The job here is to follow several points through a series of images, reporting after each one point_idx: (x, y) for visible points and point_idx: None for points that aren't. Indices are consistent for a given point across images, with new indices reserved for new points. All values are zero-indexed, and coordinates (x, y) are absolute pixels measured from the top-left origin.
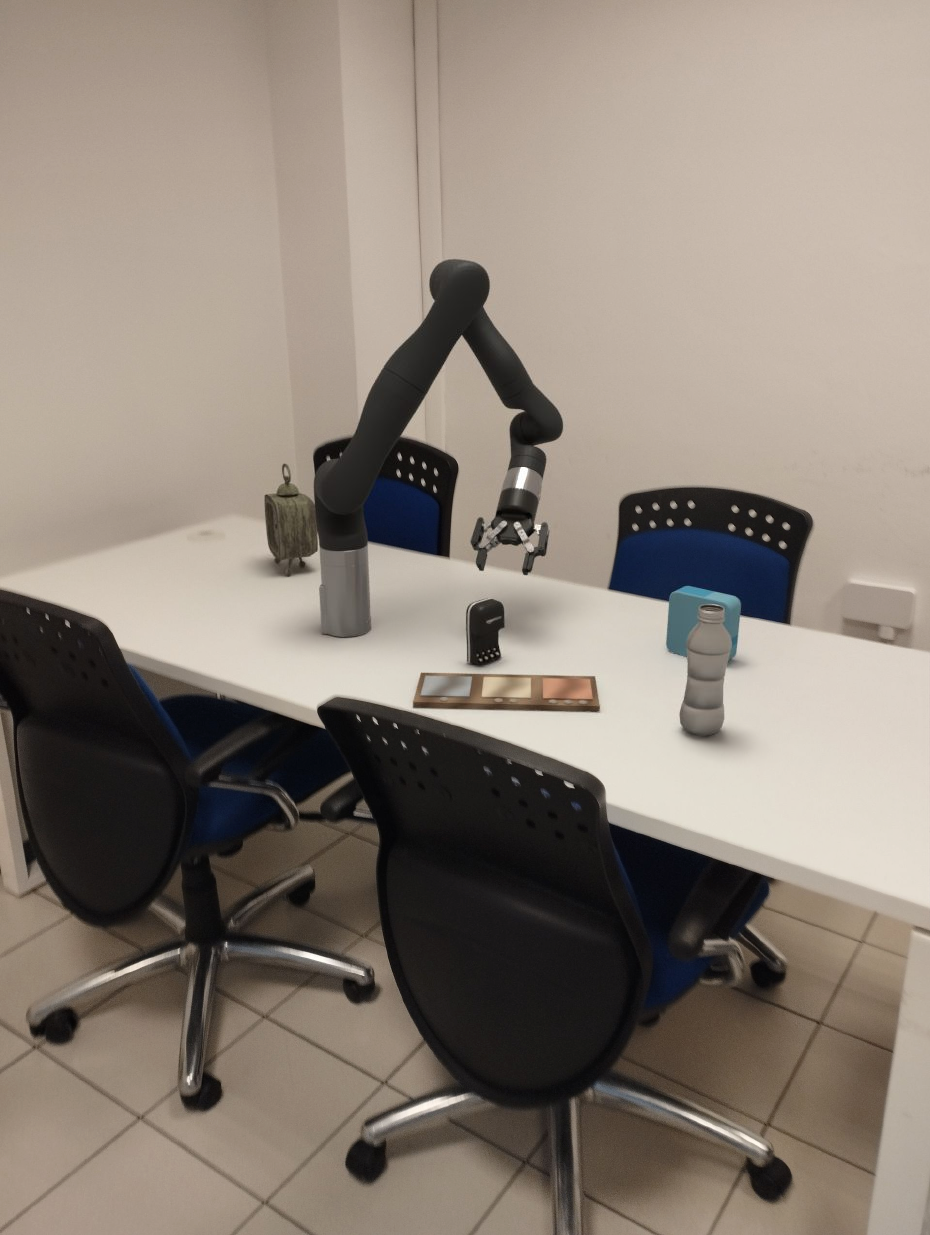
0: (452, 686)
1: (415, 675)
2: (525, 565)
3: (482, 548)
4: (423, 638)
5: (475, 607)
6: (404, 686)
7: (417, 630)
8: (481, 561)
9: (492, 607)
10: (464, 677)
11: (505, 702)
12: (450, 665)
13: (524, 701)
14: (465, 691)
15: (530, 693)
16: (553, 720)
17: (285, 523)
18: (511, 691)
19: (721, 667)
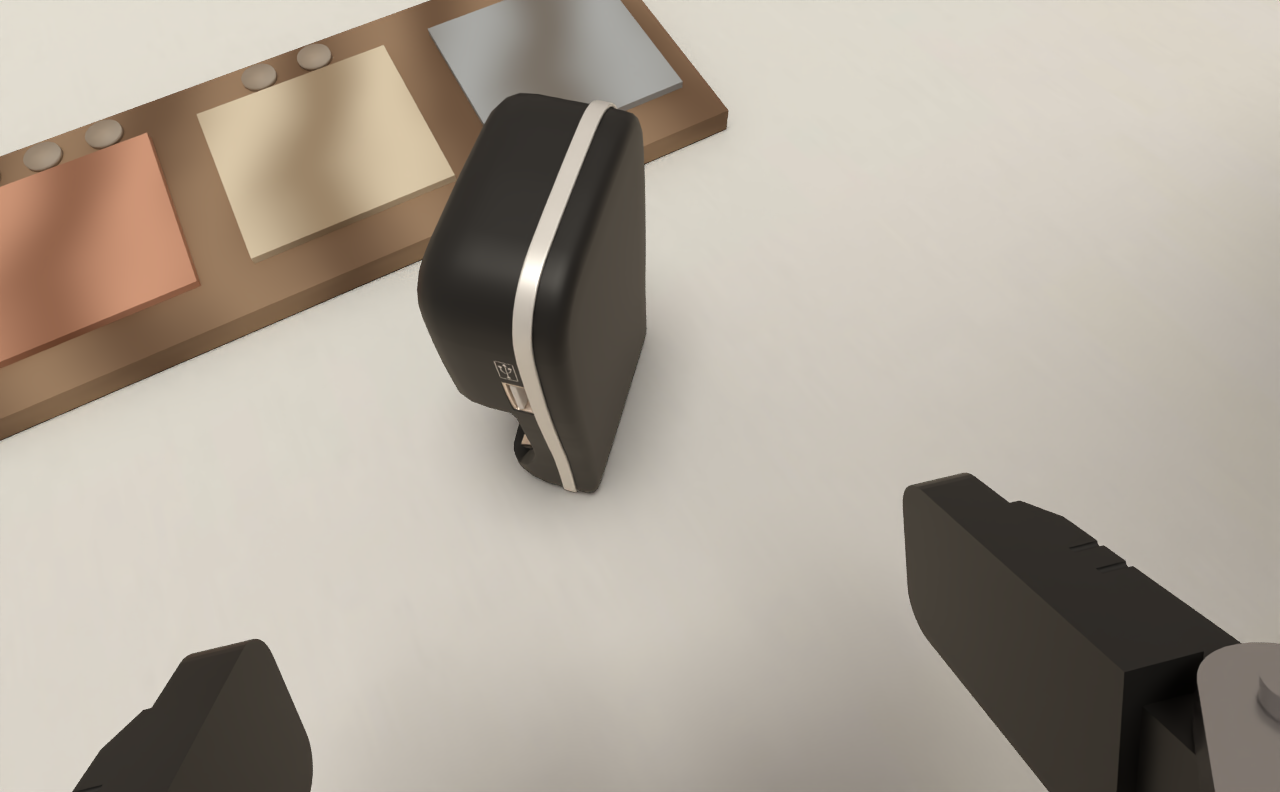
0: (527, 57)
1: (762, 137)
2: (174, 690)
3: (1202, 675)
4: (1067, 499)
5: (559, 98)
6: (730, 53)
7: (1203, 593)
8: (954, 509)
9: (457, 179)
10: None
11: (286, 61)
12: (699, 280)
13: (219, 97)
14: (459, 49)
15: (207, 139)
16: (101, 85)
17: None
18: (288, 121)
19: None
